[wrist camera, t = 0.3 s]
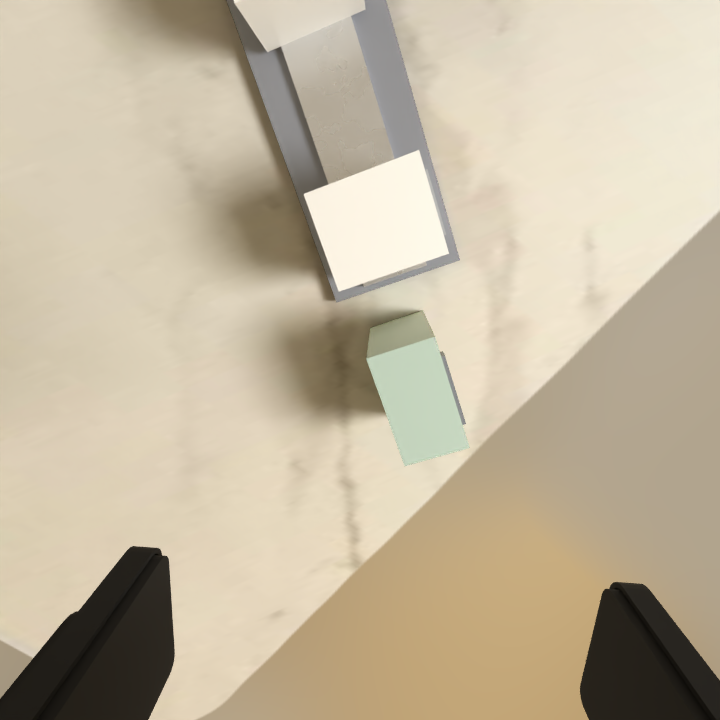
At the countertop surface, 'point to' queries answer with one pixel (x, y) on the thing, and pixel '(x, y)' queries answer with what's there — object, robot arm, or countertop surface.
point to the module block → (416, 389)
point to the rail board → (349, 137)
